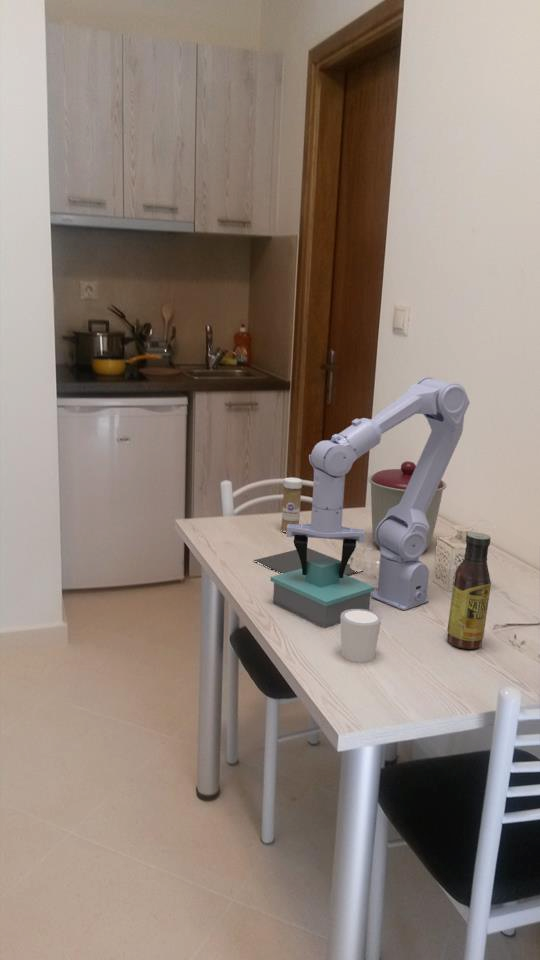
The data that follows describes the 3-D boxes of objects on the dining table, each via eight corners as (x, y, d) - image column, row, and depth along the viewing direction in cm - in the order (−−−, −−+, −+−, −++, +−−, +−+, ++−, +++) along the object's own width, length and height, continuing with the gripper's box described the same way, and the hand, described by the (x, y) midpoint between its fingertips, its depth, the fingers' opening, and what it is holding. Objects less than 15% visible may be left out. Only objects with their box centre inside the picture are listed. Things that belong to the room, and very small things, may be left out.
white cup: (329, 653, 135) (331, 614, 134) (355, 642, 140) (358, 604, 138) (360, 668, 131) (364, 628, 129) (386, 656, 135) (390, 617, 134)
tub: (368, 612, 153) (370, 590, 152) (324, 627, 145) (325, 604, 144) (317, 589, 163) (318, 568, 162) (272, 603, 155) (274, 581, 154)
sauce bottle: (466, 654, 137) (479, 543, 133) (438, 640, 142) (450, 533, 138) (490, 645, 141) (504, 537, 137) (463, 632, 146) (475, 528, 141)
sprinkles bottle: (282, 534, 198) (285, 481, 195) (279, 528, 202) (282, 476, 199) (300, 534, 199) (303, 481, 195) (297, 528, 203) (300, 477, 200)
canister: (392, 531, 205) (399, 450, 200) (454, 549, 192) (463, 464, 187) (347, 545, 192) (354, 459, 187) (410, 566, 180) (419, 474, 175)
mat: (363, 571, 175) (363, 569, 175) (310, 586, 164) (310, 585, 164) (305, 548, 188) (306, 547, 188) (253, 561, 177) (253, 560, 177)
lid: (374, 594, 152) (376, 566, 151) (325, 610, 144) (327, 580, 142) (318, 571, 163) (320, 545, 161) (270, 584, 154) (271, 557, 153)
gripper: (366, 503, 152) (361, 570, 156) (290, 497, 154) (286, 564, 157) (366, 513, 146) (361, 583, 149) (287, 507, 147) (283, 577, 150)
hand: (322, 574), depth 152 cm, fingers closed on lid, 6 cm apart
